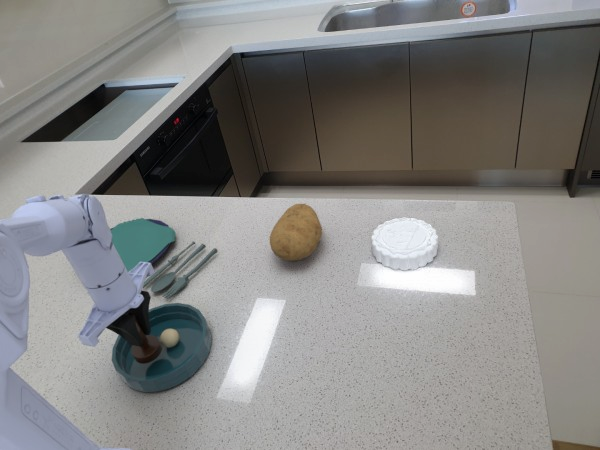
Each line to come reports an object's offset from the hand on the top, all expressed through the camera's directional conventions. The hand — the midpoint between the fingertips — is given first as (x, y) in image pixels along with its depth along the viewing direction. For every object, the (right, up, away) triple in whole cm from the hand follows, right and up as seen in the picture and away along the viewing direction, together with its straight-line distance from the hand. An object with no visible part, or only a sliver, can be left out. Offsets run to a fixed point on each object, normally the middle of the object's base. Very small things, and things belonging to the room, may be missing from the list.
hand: (140, 338), depth 70 cm
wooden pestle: (+1, -3, +2) cm, 3 cm away
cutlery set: (-8, +10, +26) cm, 29 cm away
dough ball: (+3, -1, +5) cm, 6 cm away
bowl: (+3, -4, +5) cm, 7 cm away
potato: (+24, +12, +21) cm, 34 cm away
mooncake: (+44, +13, +16) cm, 48 cm away
